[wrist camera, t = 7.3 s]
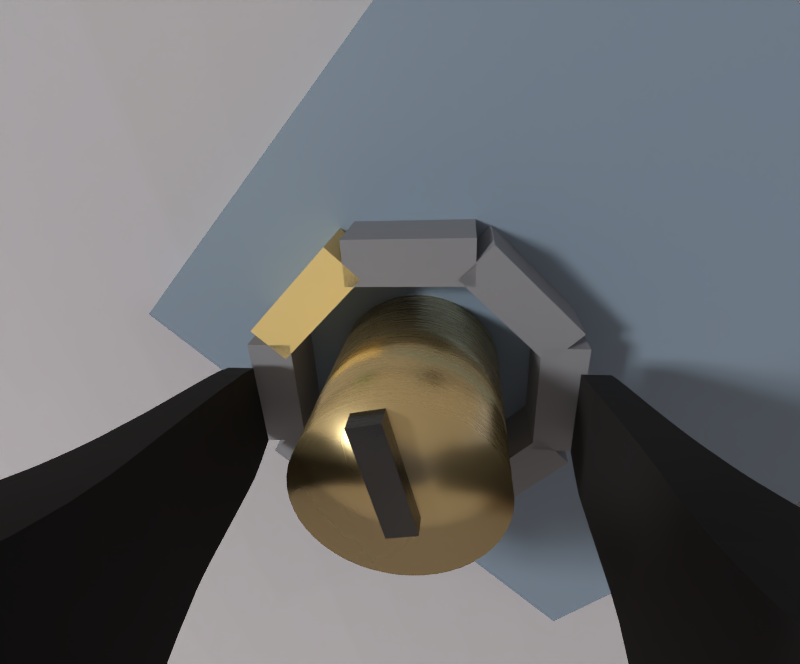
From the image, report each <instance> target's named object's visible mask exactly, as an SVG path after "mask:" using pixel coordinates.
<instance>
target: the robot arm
mask: <svg viewBox="0 0 800 664" xmlns="http://www.w3.org/2000/svg"><path fill="white" fill-rule="evenodd" d="M268 440H269V439H268V435H267V430H266V425H265V421H264V416H263V411H262V406H261V402H260V397H259V392H258V388H257V383H256V378H255V374H254V369H253V368H226V369H224V370H221V371H219V372H217V373H215V374H213V375H211V376H209V377H208V378H206V379H204V380H202V381H200V382H199V383H197V384H195V385H193V386H191V387H190V388H188V389H186V390H184V391H183V392H181V393H179V394H177V395H176V396H174V397H172V398H170V399H169V400H167V401H165V402H163V403H162V404H160V405H158V406H156V407H155V408H153V409H151V410H149V411H148V412H146V413H144V414H142V415H140V416H138V417H136V418H135V419H133V420H131V421H129V422H127V423H125V424H123V425H121V426H120V427H118V428H116V429H114V430H112V431H110V432H108V433H106V434H104V435H103V436H101V437H99V438H97V439H95V440H93V441H91V442H89V443H86V444H84V445H82V446H80V447H78V448H76V449H74V450H72V451H69V452H67V453H65V454H63V455H60V456H58V457H56V458H54V459H51V460H49V461H47V462H45V463H42V464H40V465H37V466H35V467H33V468H30V469H28V470H25V471H22V472H20V473H17V474H15V475H12V476H9V477H7V478H4V479H1V480H0V664H167V662H168V659H169V657H170V654H171V651H172V649H173V646H174V644H175V641H176V638H177V636H178V633H179V631H180V629H181V626H182V624H183V621H184V619H185V616H186V614H187V612H188V609H189V607H190V604H191V602H192V600H193V597H194V595H195V592H196V590H197V588H198V585H199V583H200V581H201V579H202V577H203V575H204V573H205V571H206V569H207V567H208V565H209V563H210V561H211V559H212V558H213V556H214V554H215V552H216V550H217V548H218V546H219V545H220V543H221V541H222V539H223V537H224V535H225V533H226V532H227V530H228V528H229V526H230V524H231V522H232V520H233V518H234V517H235V515H236V513H237V511H238V509H239V507H240V505H241V503H242V502H243V500H244V498H245V496H246V494H247V492H248V490H249V488H250V486H251V484H252V482H253V480H254V478H255V476H256V473H257V471H258V468H259V465H260V463H261V460H262V457H263V454H264V451H265V449H266V446H267V443H268ZM570 452H571V457H572V463H573V469H574V474H575V479H576V484H577V489H578V494H579V497H580V501H581V504H582V507H583V510H584V513H585V516H586V519H587V522H588V525H589V529H590V532H591V535H592V538H593V541H594V544H595V547H596V550H597V553H598V556H599V559H600V562H601V565H602V568H603V571H604V574H605V577H606V580H607V583H608V586H609V589H610V592H611V595H612V598H613V602H614V605H615V609H616V612H617V616H618V619H619V623H620V627H621V632H622V636H623V641H624V645H625V649H626V654H627V658H628V663H629V664H800V507H798V506H796V505H795V504H793V503H791V502H790V501H788V500H786V499H785V498H783V497H781V496H780V495H778V494H776V493H775V492H773V491H771V490H770V489H768V488H766V487H765V486H763V485H761V484H760V483H758V482H756V481H755V480H753V479H751V478H750V477H748V476H747V475H745V474H744V473H742V472H740V471H739V470H737V469H736V468H734V467H733V466H731V465H730V464H729V463H727V462H726V461H724V460H723V459H721V458H720V457H718V456H717V455H715V454H714V453H713V452H711V451H710V450H708V449H707V448H705V447H704V446H703V445H701V444H700V443H698V442H697V441H696V440H694V439H693V438H692V437H690V436H689V435H688V434H686V433H685V432H684V431H682V430H681V429H680V428H678V427H677V426H676V425H674V424H673V423H672V422H671V421H669V420H668V419H667V418H665V417H664V416H663V415H662V414H660V413H659V412H658V411H657V410H655V409H654V408H653V407H652V406H650V405H649V404H648V403H647V402H645V401H644V400H643V399H642V398H640V397H639V396H638V395H637V394H635V393H634V392H633V391H632V390H631V389H629V388H628V387H627V386H626V385H624V384H623V383H622V382H620V381H619V380H618V379H616V378H615V377H614V376H612V375H581V379H580V387H579V394H578V401H577V408H576V415H575V423H574V430H573V437H572V444H571V451H570Z"/></svg>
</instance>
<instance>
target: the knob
mask: <svg viewBox="0 0 800 664" xmlns="http://www.w3.org/2000/svg"><path fill="white" fill-rule="evenodd" d="M287 489H288V494H289V499H290V501H291V504H292V506H293V509H294V511H295V513H296V514H297V516H298V518H299V520H300V521H301V522H302V524H303V525H304V526H305V528H306V529H307V530H308V531H309V532H310V533H311V534H312V535H313V536H314V538H316V539H317V540H318V541H319V542H320V543H321V544H323V545H324V546H325V547H327V548H328V549H330V550H331V551H332V552H334V553H336V554H337V555H339V556H341V557H343V558H344V559H346V560H349V561H351V562H353V563H355V564H358V565H360V566H363V567H366V568H369V569H373V570H377V571H381V572H385V573H391V574H398V575H430V574H438V573H443V572H447V571H451V570H454V569H458V568H461V567H463V566H465V565H468V564H470V563H472V562H474V561H476V560H477V559H479V558H481V557H482V556H484V555H485V554H486V553H487V552H489V551H490V550H491V549H492V548H493V547H494V546H495V545H496V544H497V543H498V542H499V541H500V540H501V538H502V537H503V535H504V534H505V532H506V531H507V529H508V526H509V524H510V522H511V519H512V515H513V511H514V490H513V482H512V473H511V465H510V456H509V447H508V439H507V430H506V421H505V413H504V404H503V396H502V387H501V378H500V370H499V361H498V354H497V350H496V346H495V344H494V341H493V339H492V337H491V335H490V334H489V332H488V330H487V329H486V328H485V326H484V325H483V324H482V323H481V322H480V320H478V319H477V318H476V317H475V316H474V315H473V314H472V313H470V312H469V311H467V310H466V309H465V308H463V307H461V306H459V305H457V304H455V303H454V302H451V301H448V300H445V299H442V298H438V297H434V296H427V295H407V296H400V297H396V298H392V299H389V300H386V301H384V302H382V303H379V304H378V305H376V306H374V307H372V308H371V309H370V310H368V311H367V312H366V313H364V314H363V315H362V316H361V317H360V319H359V320H358V321H357V322H356V323H355V325H354V326H353V327H352V329H351V331H350V333H349V335H348V337H347V339H346V341H345V343H344V345H343V348H342V350H341V352H340V354H339V356H338V358H337V360H336V362H335V364H334V366H333V369H332V371H331V373H330V375H329V377H328V379H327V381H326V383H325V385H324V388H323V390H322V392H321V394H320V396H319V398H318V400H317V402H316V404H315V407H314V409H313V411H312V413H311V415H310V417H309V419H308V421H307V423H306V426H305V428H304V430H303V432H302V434H301V436H300V438H299V440H298V442H297V445H296V447H295V449H294V451H293V453H292V455H291V458H290V461H289V464H288V470H287Z"/></svg>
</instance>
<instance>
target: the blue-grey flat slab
mask: <svg viewBox="0 0 800 664" xmlns="http://www.w3.org/2000/svg"><path fill="white" fill-rule="evenodd" d="M407 295H427V296H434V297H438V298H442V299H445V300H448V301H451V302H454V303H455V304H457V305H459V306H461V307H463V308H465V309H466V310H467V311H469V312H470V313H472V314H473V315H474V316H475V317H476V318H477V319H478V320H480V322H481V323H482V324H483V325H484V326H485V328H486V329H487V330H488V332H489V334H490V335H491V337H492V339H493V341H494V344H495V346H496V350H497V354H498V361H499V370H500V378H501V387H502V396H503V404H504V413H505V421H506V430H507V439H508V447H509V456H510V465H511V473H512V482H513V490H514V511H513V515H512V519H511V522H510V524H509V526H508V529H507V531H506V532H505V534H504V535H503V537H502V538H501V540H500V541H499V542H498V543H497V544H496V545H495V546H494V547H493V548H492V549H491V550H490V551H489V552H487V553H486V554H485V555H484V556H482V557H481V558H479V559H477V560H476V561H475V562H476V563H478V564H479V565H480V566H482V567H483V568H484V569H486V570H487V571H488V572H490V573H491V574H492V575H493V576H495V577H496V578H497V579H499V580H500V581H501V582H503V583H504V584H505V585H507V586H508V587H509V588H511V589H512V590H513V591H515V592H516V593H517V594H519V595H520V596H521V597H522V598H524V599H525V600H526V601H528V602H529V603H530V604H532V605H533V606H534V607H536V608H537V609H538V610H540V611H541V612H542V613H544V614H545V615H546V616H548V617H549V618H550V619H551V620H553V621H555V620H557V619H559V618H561V617H563V616H565V615H567V614H569V613H571V612H573V611H575V610H577V609H580V608H582V607H584V606H586V605H588V604H590V603H592V602H594V601H596V600H598V599H600V598H602V597H604V596H607V595H609V594H611V592H610V589H609V586H608V583H607V580H606V577H605V574H604V571H603V568H602V565H601V562H600V559H599V556H598V553H597V550H596V547H595V544H594V541H593V538H592V535H591V532H590V529H589V525H588V522H587V519H586V516H585V513H584V510H583V507H582V504H581V501H580V497H579V494H578V489H577V484H576V479H575V474H574V469H573V463H572V457H571V452H570V451H571V444H572V437H573V430H574V423H575V415H576V408H577V401H578V394H579V387H580V379H581V375H612V376H614V377H615V378H616V379H618V380H619V381H620V382H622V383H623V384H624V385H626V386H627V387H628V388H629V389H631V390H632V391H633V392H634V393H635V394H637V395H638V396H639V397H640V398H642V399H643V400H644V401H645V402H647V403H648V404H649V405H650V406H652V407H653V408H654V409H655V410H657V411H658V412H659V413H660V414H662V415H663V416H664V417H665V418H667V419H668V420H669V421H671V422H672V423H673V424H674V425H676V426H677V427H678V428H680V429H681V430H682V431H684V432H685V433H686V434H688V435H689V436H690V437H692V438H693V439H694V440H696V441H697V442H698V443H700V444H701V445H703V446H704V447H705V448H707V449H708V450H710V451H711V452H713V453H714V454H715V455H717V456H718V457H720V458H721V459H723V460H724V461H726V462H727V463H729V464H730V465H731V466H733V467H734V468H736V469H737V470H739V471H740V472H742V473H744V474H745V475H747V476H748V477H750V478H751V479H753V480H755V481H756V482H758V483H760V484H761V485H763V486H765V487H766V488H768V489H770V490H771V491H773V492H775V493H776V494H778V495H780V496H781V497H783V498H785V499H786V500H788V501H790V502H791V503H793V504H797V503H799V502H800V3H799V1H798V0H373V1H372V3H371V4H370V6H369V7H368V8H367V10H366V11H365V13H364V14H363V15H362V17H361V18H360V20H359V21H358V22H357V24H356V25H355V27H354V28H353V29H352V31H351V32H350V34H349V35H348V36H347V38H346V39H345V41H344V42H343V43H342V45H341V46H340V48H339V49H338V50H337V52H336V53H335V55H334V56H333V57H332V59H331V60H330V62H329V63H328V64H327V66H326V67H325V69H324V70H323V71H322V73H321V74H320V76H319V77H318V78H317V80H316V81H315V83H314V84H313V85H312V87H311V88H310V90H309V91H308V92H307V94H306V95H305V97H304V98H303V99H302V101H301V102H300V104H299V105H298V106H297V108H296V109H295V111H294V112H293V113H292V115H291V116H290V118H289V119H288V120H287V122H286V123H285V125H284V126H283V127H282V129H281V130H280V132H279V133H278V134H277V136H276V137H275V139H274V140H273V141H272V143H271V144H270V146H269V147H268V148H267V150H266V151H265V153H264V154H263V155H262V157H261V158H260V160H259V161H258V162H257V164H256V165H255V166H254V168H253V169H252V171H251V172H250V173H249V175H248V176H247V178H246V179H245V180H244V182H243V183H242V185H241V186H240V187H239V189H238V190H237V192H236V193H235V194H234V196H233V197H232V199H231V200H230V201H229V203H228V204H227V206H226V207H225V208H224V210H223V211H222V213H221V214H220V215H219V217H218V218H217V220H216V221H215V222H214V224H213V225H212V227H211V228H210V229H209V231H208V232H207V234H206V235H205V236H204V238H203V239H202V241H201V242H200V243H199V245H198V246H197V248H196V249H195V250H194V252H193V253H192V255H191V256H190V257H189V259H188V260H187V262H186V263H185V264H184V266H183V267H182V269H181V270H180V271H179V273H178V274H177V276H176V277H175V278H174V280H173V281H172V283H171V284H170V285H169V287H168V288H167V290H166V291H165V292H164V294H163V295H162V297H161V298H160V299H159V301H158V302H157V304H156V305H155V306H154V308H153V309H152V311H151V312H150V313H149V315H151V316H152V317H153V318H155V319H156V320H157V321H159V322H160V323H161V324H163V325H164V326H165V327H167V328H168V329H169V330H171V331H172V332H173V333H175V334H176V335H177V336H178V337H180V338H181V339H182V340H184V341H185V342H186V343H188V344H189V345H190V346H192V347H193V348H194V349H196V350H197V351H198V352H200V353H201V354H202V355H204V356H205V357H206V358H207V359H209V360H210V361H211V362H213V363H214V364H215V365H217V366H218V367H219V368H221V369H222V370H224V369H226V368H253V369H254V374H255V378H256V383H257V388H258V392H259V397H260V402H261V406H262V411H263V416H264V421H265V425H266V430H267V435H268V439H270V440H280V442H279V444H278V446H277V448H276V450H275V451H277V452H278V453H279V454H281V455H282V456H283V457H285V458H286V459H288V460H289V461H290V458H291V455H292V453H293V451H294V449H295V447H296V445H297V442H298V440H299V438H300V436H301V434H302V432H303V430H304V428H305V426H306V423H307V421H308V419H309V417H310V415H311V413H312V411H313V409H314V407H315V404H316V402H317V400H318V398H319V396H320V394H321V392H322V390H323V388H324V385H325V383H326V381H327V379H328V377H329V375H330V373H331V371H332V369H333V366H334V364H335V362H336V360H337V358H338V356H339V354H340V352H341V350H342V348H343V345H344V343H345V341H346V339H347V337H348V335H349V333H350V331H351V329H352V327H353V326H354V325H355V323H356V322H357V321H358V320H359V319H360V317H361V316H362V315H363V314H364V313H366V312H367V311H368V310H370V309H371V308H372V307H374V306H376V305H378V304H379V303H382V302H384V301H386V300H389V299H392V298H396V297H400V296H407Z"/></svg>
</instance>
